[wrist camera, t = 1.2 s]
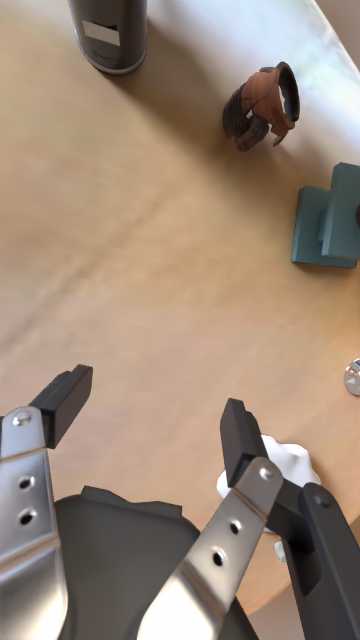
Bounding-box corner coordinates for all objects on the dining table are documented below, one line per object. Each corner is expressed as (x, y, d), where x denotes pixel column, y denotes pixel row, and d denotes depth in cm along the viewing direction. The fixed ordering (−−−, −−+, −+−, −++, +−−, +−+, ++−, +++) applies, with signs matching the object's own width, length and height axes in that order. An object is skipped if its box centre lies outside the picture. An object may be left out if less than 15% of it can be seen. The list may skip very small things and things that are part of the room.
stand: (299, 188, 38) (340, 161, 30) (361, 199, 40) (414, 176, 32) (290, 262, 39) (327, 254, 31) (350, 268, 41) (398, 263, 33)
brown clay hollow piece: (229, 81, 35) (283, 32, 28) (259, 136, 40) (309, 106, 34) (204, 140, 32) (257, 101, 26) (239, 190, 38) (289, 168, 32)
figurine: (334, 464, 44) (431, 557, 28) (283, 540, 45) (350, 674, 29) (251, 414, 42) (304, 484, 26) (199, 494, 43) (220, 611, 27)
